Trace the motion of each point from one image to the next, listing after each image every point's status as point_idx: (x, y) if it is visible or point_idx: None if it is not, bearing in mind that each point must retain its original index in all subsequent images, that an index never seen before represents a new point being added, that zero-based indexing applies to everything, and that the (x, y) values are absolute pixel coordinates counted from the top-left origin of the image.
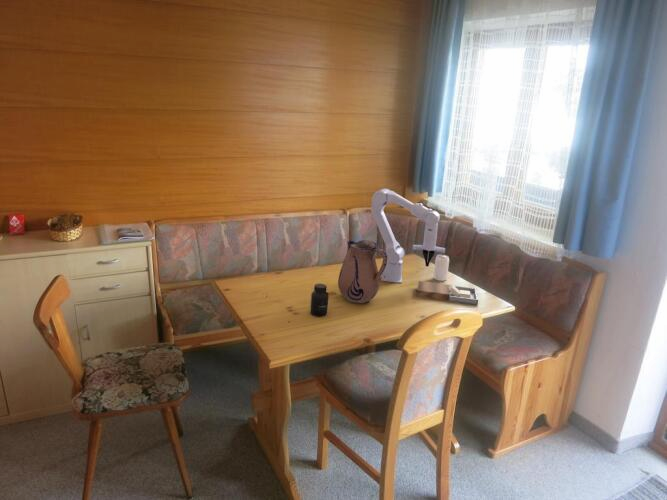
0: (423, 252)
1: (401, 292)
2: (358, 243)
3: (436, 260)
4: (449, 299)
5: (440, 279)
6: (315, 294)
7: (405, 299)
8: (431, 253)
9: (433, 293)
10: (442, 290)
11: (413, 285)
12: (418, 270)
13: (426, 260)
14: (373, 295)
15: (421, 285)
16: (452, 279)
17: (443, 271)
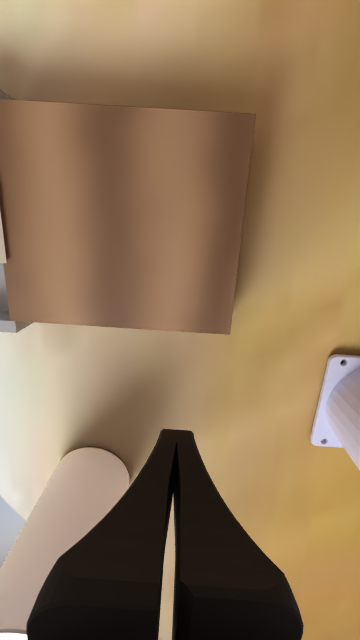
0: (286, 625)
1: (348, 189)
2: None
3: None
4: (2, 92)
5: (88, 451)
6: None
7: (337, 40)
8: (95, 597)
9: (120, 110)
10: (49, 179)
11: (251, 341)
12: None
13: (191, 478)
14: None
15: (214, 246)
16: (28, 481)
17: (54, 496)
